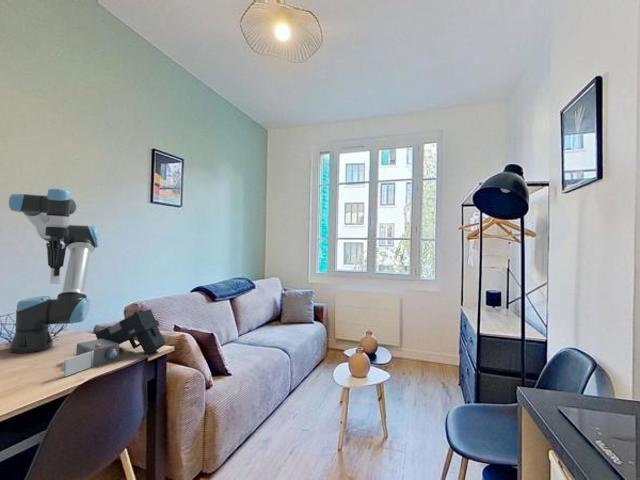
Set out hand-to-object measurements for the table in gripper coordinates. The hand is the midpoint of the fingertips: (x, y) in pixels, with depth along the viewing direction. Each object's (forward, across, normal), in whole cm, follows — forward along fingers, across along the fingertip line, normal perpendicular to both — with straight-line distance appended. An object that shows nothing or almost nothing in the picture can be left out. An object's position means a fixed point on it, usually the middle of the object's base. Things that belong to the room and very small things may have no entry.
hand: (54, 283), depth 137 cm
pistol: (+33, +10, +27) cm, 44 cm away
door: (+32, +20, +1) cm, 38 cm away
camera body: (+32, +13, +12) cm, 37 cm away
